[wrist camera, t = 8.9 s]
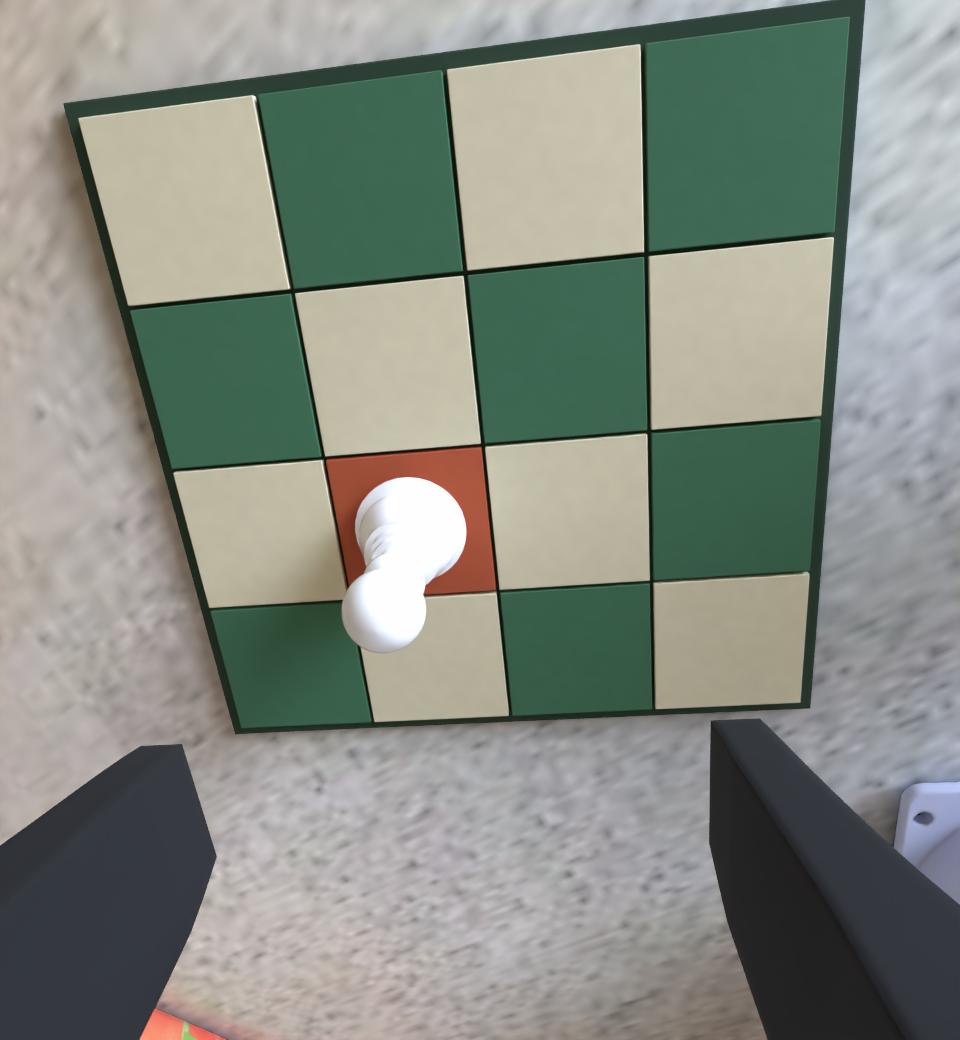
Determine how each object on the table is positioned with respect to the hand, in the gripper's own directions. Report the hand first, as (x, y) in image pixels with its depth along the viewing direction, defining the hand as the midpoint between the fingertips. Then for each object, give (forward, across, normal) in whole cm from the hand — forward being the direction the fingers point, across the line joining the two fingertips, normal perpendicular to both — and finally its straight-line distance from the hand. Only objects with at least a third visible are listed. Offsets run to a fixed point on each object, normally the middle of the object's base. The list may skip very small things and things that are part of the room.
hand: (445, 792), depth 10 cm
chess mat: (+10, 0, -2) cm, 10 cm away
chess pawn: (+9, +2, 0) cm, 10 cm away
